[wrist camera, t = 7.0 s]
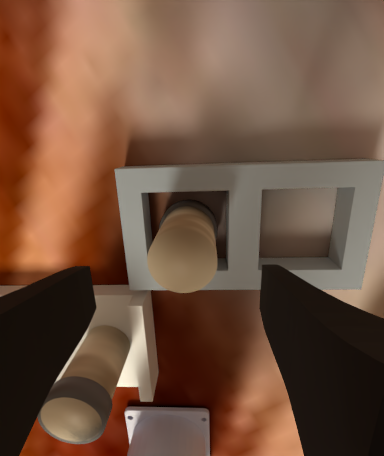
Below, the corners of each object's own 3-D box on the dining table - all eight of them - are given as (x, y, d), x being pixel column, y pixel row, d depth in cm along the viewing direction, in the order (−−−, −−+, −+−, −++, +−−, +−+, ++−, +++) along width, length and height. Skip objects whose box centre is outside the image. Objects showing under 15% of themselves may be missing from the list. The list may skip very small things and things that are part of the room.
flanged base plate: (158, 372, 23) (152, 401, 21) (10, 370, 24) (-14, 398, 21) (150, 284, 20) (141, 305, 18) (-17, 285, 21) (-49, 306, 19)
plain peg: (135, 363, 21) (109, 445, 15) (88, 363, 21) (45, 442, 16) (129, 323, 20) (99, 395, 14) (79, 323, 20) (30, 394, 14)
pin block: (345, 275, 19) (361, 289, 17) (136, 276, 20) (129, 290, 18) (365, 158, 17) (386, 160, 15) (124, 166, 18) (114, 169, 16)
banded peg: (222, 206, 18) (230, 234, 13) (209, 256, 19) (210, 303, 14) (167, 194, 18) (150, 217, 12) (157, 245, 19) (137, 287, 14)
